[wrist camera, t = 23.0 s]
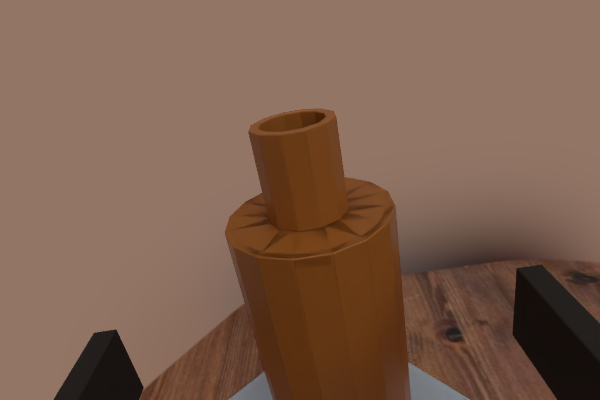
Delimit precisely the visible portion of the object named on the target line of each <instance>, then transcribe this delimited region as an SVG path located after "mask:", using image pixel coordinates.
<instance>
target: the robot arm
mask: <svg viewBox="0 0 600 400" xmlns="http://www.w3.org/2000/svg"><path fill="white" fill-rule="evenodd" d="M513 336H514V337H515V339H516V340H517V342H518V343H519V345H520V346H521V347H522V349H523V350H524V352H525V353H526V355H527V356H528V358H529V359H530V361H531V362H532V363H533V365H534V366H535V368H536V369H537V371H538V372H539V374H540V375H541V377H542V378H543V379H544V381H545V382H546V384H547V385H548V387H549V388H550V390H551V391H552V393H553V394H554V395H555V397H556V398H557V400H600V323H599V322H598V321H597V320H596V319H595V318H594V317H593V316H592V315H591V314H590V313H589V312H588V311H587V310H586V309H585V308H584V307H583V306H582V305H581V304H580V303H579V302H578V301H577V300H576V299H575V298H574V297H573V296H572V295H571V294H570V293H569V292H568V291H567V290H566V289H565V288H564V287H563V286H562V285H561V284H560V283H559V282H558V281H557V280H556V279H555V278H554V277H553V276H552V275H551V274H550V273H549V272H548V271H547V270H546V269H545V268H544V267H543V266H542V265H536V266H530V267H523V268H517V273H516V289H515V305H514V320H513ZM143 388H144V387H143V385H142V383H141V381H140V379H139V377H138V375H137V373H136V371H135V368H134V366H133V364H132V362H131V360H130V358H129V356H128V353H127V351H126V349H125V347H124V345H123V343H122V341H121V339H120V336H119V334H118V332H117V330H110V331H103V332H97V333H94V334H93V336H92V337H91V339H90V341H89V342H88V344H87V346H86V347H85V349H84V350H83V352H82V354H81V355H80V357H79V359H78V360H77V362H76V364H75V365H74V367H73V368H72V370H71V372H70V373H69V375H68V377H67V379H66V380H65V382H64V383H63V385H62V387H61V388H60V390H59V392H58V393H57V395H56V397H55V398H54V400H139V398H140V396H141V393H142V391H143Z"/></svg>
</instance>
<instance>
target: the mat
mask: <svg viewBox="0 0 600 400" xmlns="http://www.w3.org/2000/svg"><path fill="white" fill-rule="evenodd" d="M408 367H409V380H410V392H411V400H470V399H468V398H466V397H465V396H463V395H462V394H460V393H458V392H457V391H455V390H453V389H452V388H450V387H448V386H447V385H445V384H443V383H442V382H440V381H438V380H437V379H435V378H434V377H432V376H430V375H429V374H427V373H425V372H424V371H422V370H420V369H419V368H417V367H415V366H414V365H412V364H410V363H409V362H408ZM228 400H273V399H272V396H271V392H270V389H269V385H268V382H267V378H266V375H265V371H264V372H263V373H262V374H260V375H259V376H258V377H257V378H255V379H254V380H253V381H251V382H250V383H249V384H248V385H246V386H245V387H244V388H242V389H241V390H240V391H239V392H237V393H236V394H235V395H234V396H232V397H231V398H230V399H228Z"/></svg>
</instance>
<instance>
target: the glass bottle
mask: <svg viewBox="0 0 600 400" xmlns="http://www.w3.org/2000/svg"><path fill="white" fill-rule="evenodd" d="M249 137H250V141H251V145H252V149H253V154H254V158H255V163H256V167H257V171H258V175H259V180H260V184H261V189H262V193H261V194H259V195H258V196H256V197H254V198H252V199H250V200H248V201H246V202H245V203H244V204H242V205H241V206H240V208H238V210H236V211H235V212H234V213H233V214H232V215H231V216H230V217H229V221H228V224H227V227H226V231H225V236H226V239H227V243H228V246H229V250H230V253H231V257H232V260H233V264H234V267H235V270H236V274H237V277H238V281H239V284H240V288H241V291H242V295H243V298H244V302H245V305H246V309H247V312H248V316H249V319H250V323H251V326H252V330H253V333H254V337H255V340H256V344H257V347H258V351H259V354H260V358H261V361H262V364H263V368H264V371H265V375H266V378H267V382H268V385H269V389H270V392H271V396H272V399H273V400H411V392H410V380H409V367H408V355H407V343H406V330H405V318H404V306H403V293H402V281H401V270H400V257H399V246H398V245H399V244H398V233H397V220H396V207H395V204H394V202H393V200H392V198H391V196H390V194H389V192H388V191H386V190H385V189H383V188H380V187H379V186H377V185H375V184H373V183H371V182H367V181H362V180H357V179H352V178H345V177H344V171H343V164H342V156H341V149H340V141H339V134H338V127H337V119H336V115H335V113H334V111H330V110H325V109H303V110H296V111H290V112H285V113H280V114H277V115H274V116H270V117H267V118H264V119H262V120H260V121H258V122H256V123H254V124H253V125H251V126H250V129H249Z"/></svg>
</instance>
